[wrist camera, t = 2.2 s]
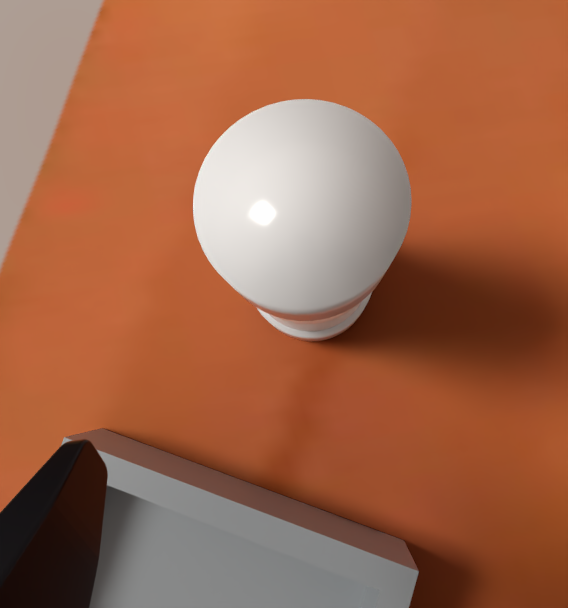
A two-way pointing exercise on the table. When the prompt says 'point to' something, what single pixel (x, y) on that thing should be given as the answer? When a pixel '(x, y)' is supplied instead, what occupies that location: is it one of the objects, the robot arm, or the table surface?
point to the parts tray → (230, 542)
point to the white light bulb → (303, 213)
